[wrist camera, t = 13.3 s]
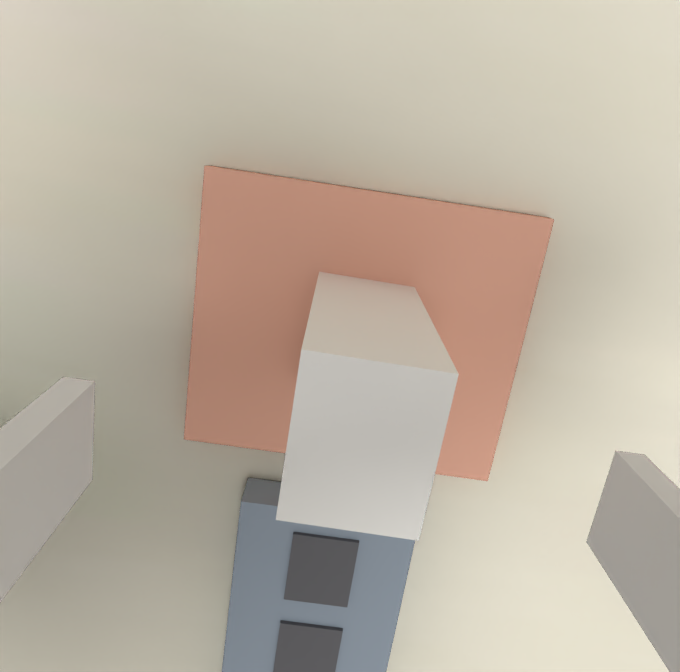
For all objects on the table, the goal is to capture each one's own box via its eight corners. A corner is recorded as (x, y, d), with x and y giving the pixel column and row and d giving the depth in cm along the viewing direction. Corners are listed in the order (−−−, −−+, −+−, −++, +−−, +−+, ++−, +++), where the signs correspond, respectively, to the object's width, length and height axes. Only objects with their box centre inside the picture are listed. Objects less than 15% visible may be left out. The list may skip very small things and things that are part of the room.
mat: (188, 431, 27) (183, 439, 26) (209, 165, 24) (204, 165, 23) (483, 472, 28) (487, 481, 27) (547, 217, 24) (554, 219, 23)
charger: (302, 383, 26) (275, 519, 16) (319, 271, 24) (301, 349, 15) (392, 396, 26) (418, 540, 16) (414, 287, 24) (458, 374, 15)
